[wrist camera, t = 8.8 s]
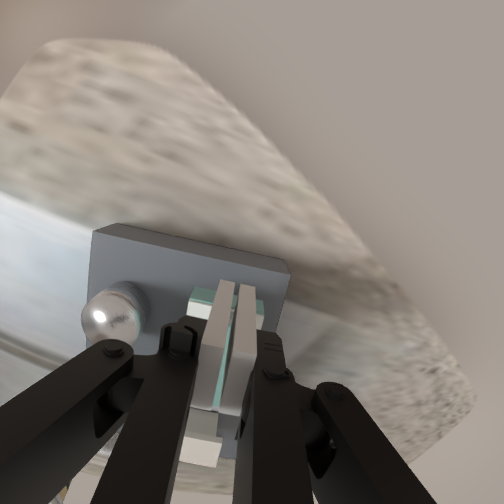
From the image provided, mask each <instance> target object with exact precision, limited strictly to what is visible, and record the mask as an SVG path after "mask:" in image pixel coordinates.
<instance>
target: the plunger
mask: <svg viewBox="0 0 504 504" xmlns="http://www.w3.org/2000/svg"><path fill="white" fill-rule="evenodd" d="M149 317H150V306H149V302H148V300H147V298H146V296H145V295H144V293H143V292H142V291H141V290H140V289H139V288H138V287H136V286H135V285H133V284H131V283H128V282H114V283H112V284H110V285H109V286H107V287H106V288H105V289H104V290H102V291H101V292H100V293H99V294H97V295H96V296H95V297H94V298H92V299H91V300H90V301H89V302H88V303H87V304H86V305H85V306H84V308H83V311H82V315H81V322H82V327H83V330H84V332H85V334H86V336H87V337H88V339H89V340H90V341H91V342H92V343H93V344H95V343H97V342H99V341H101V340H104V339H118V340H121V341H124V342H126V343H128V344H129V345H131V346H132V345H133V344H134V342H135V340H136V339H137V337H138V336H139V334H140V333H141V331H142V330H143V328H144V327H145V325H146V324H147V322H148V320H149Z"/></svg>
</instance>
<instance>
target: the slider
mask: <svg viewBox="0 0 504 504" xmlns="http://www.w3.org/2000/svg"><path fill="white" fill-rule="evenodd" d="M218 414H219V413H213V412H208V411H203V410H198V409H194V408H190V410H189V416H188V421H187V425H186V430H185V434H184V439H183V444H182V448H181V453H180V458H179V461H182V462H187V463H192V464H197V465H202V466H208V467H214V468H216V464H217V460H218V457H219V453H220V450H221V446H222V439H223V438H221V437H216V432H217V423H218Z"/></svg>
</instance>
